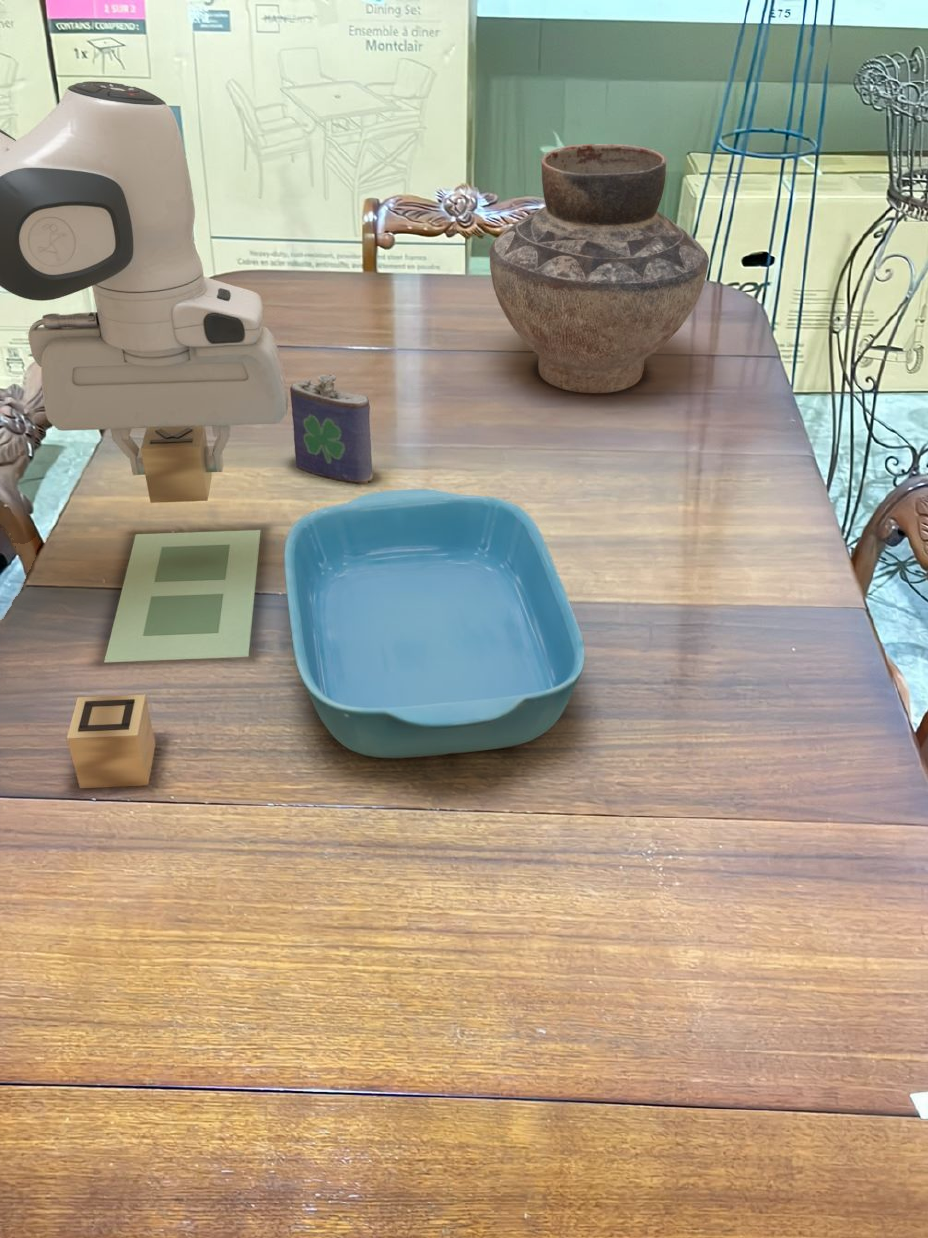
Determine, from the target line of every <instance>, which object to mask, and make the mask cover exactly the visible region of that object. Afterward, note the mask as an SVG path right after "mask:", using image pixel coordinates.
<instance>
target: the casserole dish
mask: <svg viewBox="0 0 928 1238" xmlns="http://www.w3.org/2000/svg"><path fill="white" fill-rule="evenodd" d="M283 549H284V550H283V565H284V566H283V567H284V580H285V588H286V589H285V590H286V598H287V599H286V600H287V608H288V616H289V617H288V618H289V626H290V634H291V636H290V637H291V643H292V649H293V655H294V659H295V665H296V668H297V672H298V675H299V677H300V679H301V681H302V683H303V685H304V687H305V689H306V691H307V693H308V696H309V698H310V701H311V702H312V704H313V707H314V708H315V711H316V713H317V714H318V717H319V718H320V720H321V722H322V724H323V726H325V728H326V729H327V730H328V732H329V733H330V734H331V735H332V737H333V738H334V739H335V740H336V741H337V742H338V743H339V744H341V745H342V746H344V747H345V748H346V749H348V750H350V751H352V752H354V753H357V754H360V755H363V756H366V757H373V758H379V759H411V758H425V757H426V758H427V757H437V756H444V755H445V756H446V755H449V754H465V753H472V752H480V751H481V752H483V751H491V750H498V749H504V748H509V747H516V746H520V745H522V744H526V743H528V742H531V741H533V740H535V739H537V738H539V737H540V736H542V735H544V734H545V733H547V732H548V731H549V730H550V729H551V728H552V727H554V725H555V724H556V723H557V721H559V719H560V717H561V716H562V714H563V713H564V711H565V709H566V707H567V706H568V703H569V701H570V699H571V697H572V694H573V693H574V691H575V687H576V686H577V683H578V681H579V679H580V677H581V675H582V673H583V670H584V667H585V661H586V648H585V642H584V638H583V635H582V632H581V629H580V625H579V623H578V620H577V618H576V615H575V612H574V609H573V607H572V605H571V603H570V599H569V598H568V595H567V593H566V591H565V588H564V586H563V583H562V580H561V578H560V576H559V575H560V574H559V573H558V570H557V568H556V566H555V563H554V561H553V558H552V555H551V553H550V551H549V548H548V546H547V543H546V541H545V540H544V537H543V535H542V532H541V531H540V529H539V527H538V525H537V524H536V522H535V521H534V520H533V518H531V516H530V515H529V514H528V513H527V512H526V511H525V510H524V509H522V508H521V507H520V506H518V505H516V504H514V503H512V502H510V501H508V500H505V499H502V498H499V497H492V496H486V495H473V494H472V495H471V494H458V493H457V494H456V493H452V492H448V491H442V490H437V489H428V488H411V489H396V490H384V491H376V492H372V493H367V494H363V495H360V496H358V497H355V498H354V499H352V500H350V501H348V502H344V503H340V504H336V505H335V504H334V505H330V506H325V507H322V508H318V509H316V510H314V511H311V512H308V513H307V514H305V515H304V516H301V517H300V518H299V519H298V520H297V521H296V522H295V523H294V524H293V525H292V526H291V527H290V529H289V531H288V532H287V535H286V539H285V544H284V548H283Z"/></svg>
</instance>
